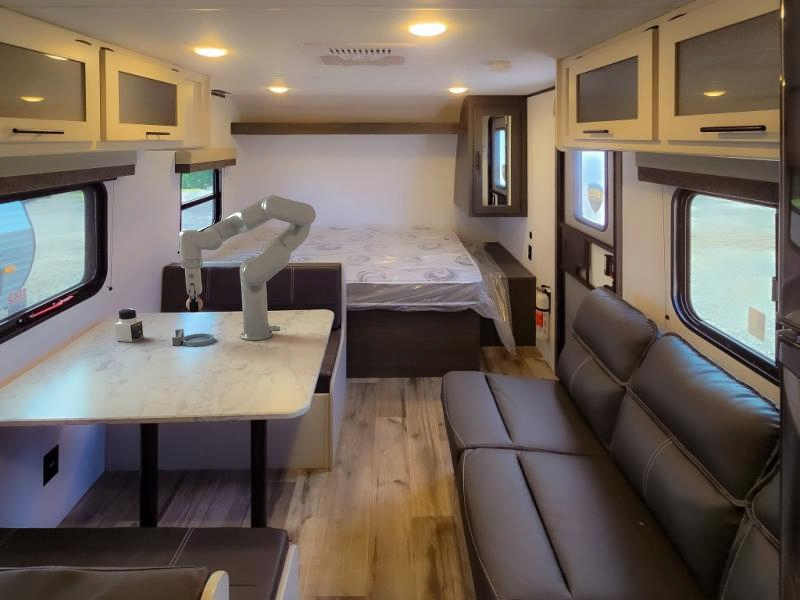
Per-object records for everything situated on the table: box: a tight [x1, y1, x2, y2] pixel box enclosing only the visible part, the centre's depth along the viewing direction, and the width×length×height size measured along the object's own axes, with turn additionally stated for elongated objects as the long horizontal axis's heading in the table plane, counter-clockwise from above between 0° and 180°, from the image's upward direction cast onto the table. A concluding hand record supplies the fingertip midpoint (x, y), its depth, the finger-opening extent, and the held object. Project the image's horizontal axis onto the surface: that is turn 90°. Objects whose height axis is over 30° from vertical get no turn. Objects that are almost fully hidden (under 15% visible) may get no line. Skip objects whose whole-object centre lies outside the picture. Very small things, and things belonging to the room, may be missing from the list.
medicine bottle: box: [114, 307, 144, 343], centre depth 228 cm, size 7×7×12 cm
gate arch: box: [171, 328, 185, 346], centre depth 227 cm, size 3×12×3 cm, turn 14°
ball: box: [185, 296, 204, 312], centre depth 223 cm, size 6×6×6 cm
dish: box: [181, 332, 215, 347], centre depth 226 cm, size 12×12×2 cm
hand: (195, 309), depth 223 cm, fingers closed on ball, 5 cm apart
